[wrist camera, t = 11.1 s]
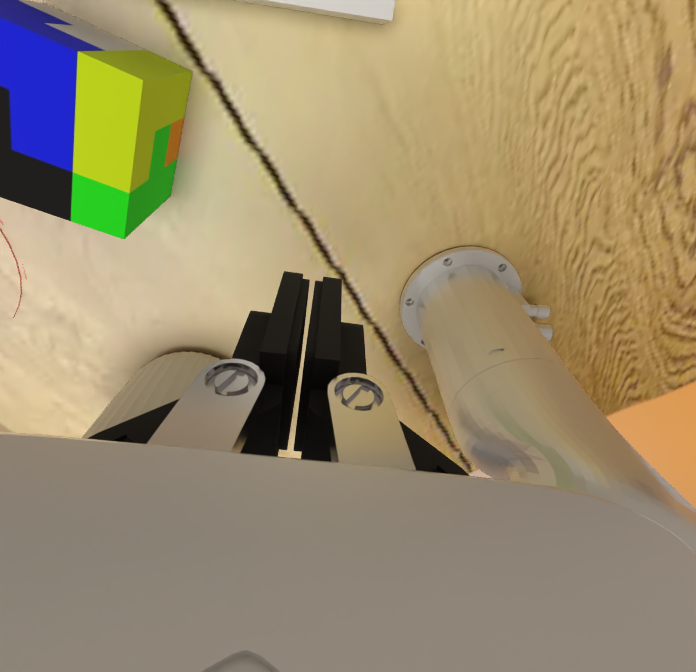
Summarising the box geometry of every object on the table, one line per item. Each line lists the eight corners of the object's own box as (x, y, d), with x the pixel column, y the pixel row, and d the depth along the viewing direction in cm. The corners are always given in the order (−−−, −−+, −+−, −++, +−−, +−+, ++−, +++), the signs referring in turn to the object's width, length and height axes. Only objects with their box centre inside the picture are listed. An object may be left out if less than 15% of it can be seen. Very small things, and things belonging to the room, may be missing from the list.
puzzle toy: (45, 3, 28) (-71, -15, 20) (192, 71, 31) (143, 80, 22) (45, 148, 33) (-48, 180, 25) (170, 195, 36) (123, 239, 28)
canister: (110, 415, 51) (0, 602, 34) (131, 302, 42) (-7, 480, 25) (250, 450, 56) (215, 629, 39) (296, 356, 47) (277, 536, 30)
